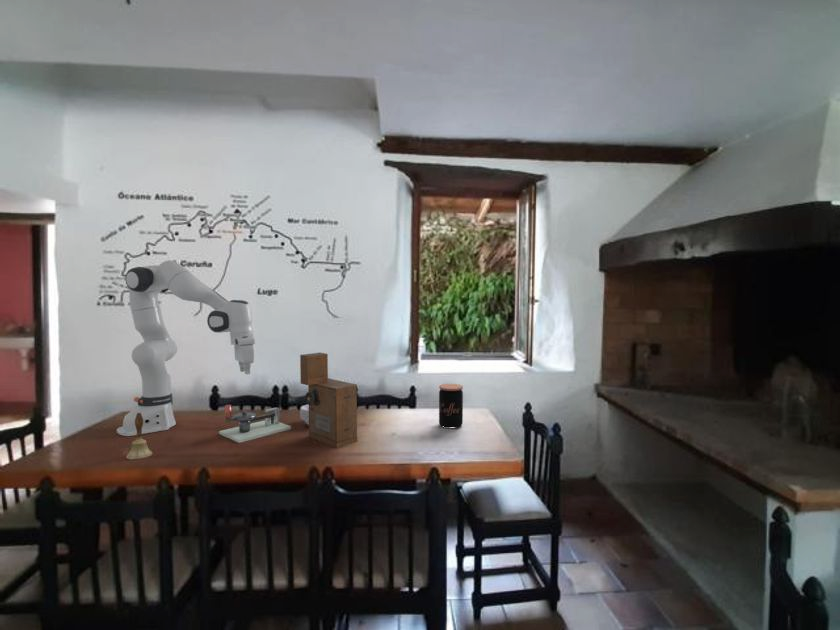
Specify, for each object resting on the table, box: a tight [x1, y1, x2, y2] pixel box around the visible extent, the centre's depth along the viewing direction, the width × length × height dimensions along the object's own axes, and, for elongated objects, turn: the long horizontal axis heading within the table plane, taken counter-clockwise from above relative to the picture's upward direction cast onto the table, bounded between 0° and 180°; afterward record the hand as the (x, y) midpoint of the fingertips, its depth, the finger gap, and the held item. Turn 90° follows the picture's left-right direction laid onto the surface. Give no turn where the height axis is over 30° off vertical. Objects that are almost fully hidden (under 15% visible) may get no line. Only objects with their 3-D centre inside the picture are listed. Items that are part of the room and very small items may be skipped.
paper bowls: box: [299, 404, 309, 426], centre depth 208 cm, size 15×15×8 cm
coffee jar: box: [438, 383, 464, 428], centre depth 205 cm, size 11×11×18 cm
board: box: [218, 410, 292, 444], centre depth 196 cm, size 24×17×10 cm
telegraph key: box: [224, 404, 275, 432], centre depth 194 cm, size 22×9×12 cm, turn 139°
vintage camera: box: [299, 352, 358, 449], centre depth 184 cm, size 19×14×35 cm
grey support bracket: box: [264, 406, 281, 426], centre depth 202 cm, size 6×2×7 cm, turn 139°
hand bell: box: [126, 413, 153, 461], centre depth 167 cm, size 8×8×16 cm
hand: (245, 372), depth 186 cm, fingers open, 8 cm apart
